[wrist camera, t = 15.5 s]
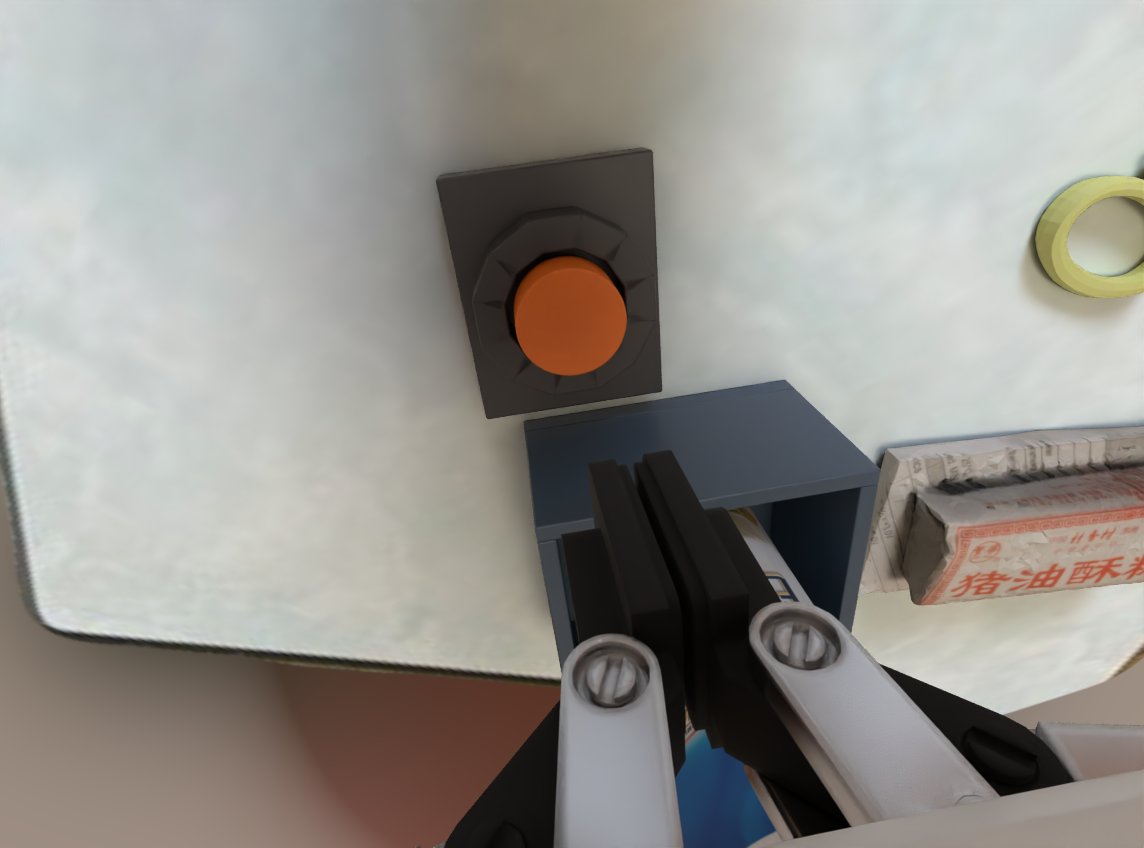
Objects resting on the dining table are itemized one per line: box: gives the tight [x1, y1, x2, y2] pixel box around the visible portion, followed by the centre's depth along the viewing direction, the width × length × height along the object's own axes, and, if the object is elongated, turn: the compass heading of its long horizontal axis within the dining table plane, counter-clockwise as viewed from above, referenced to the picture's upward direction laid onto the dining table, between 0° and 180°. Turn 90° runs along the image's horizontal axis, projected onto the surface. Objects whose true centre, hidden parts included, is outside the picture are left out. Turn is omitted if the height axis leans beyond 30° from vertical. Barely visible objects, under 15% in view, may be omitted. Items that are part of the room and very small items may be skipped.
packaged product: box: [858, 426, 1144, 605], centre depth 32 cm, size 18×5×10 cm
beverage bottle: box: [675, 506, 814, 848], centre depth 22 cm, size 8×8×20 cm
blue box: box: [524, 380, 880, 672], centre depth 28 cm, size 13×13×8 cm
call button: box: [514, 256, 627, 376], centre depth 21 cm, size 4×4×2 cm
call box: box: [436, 148, 662, 419], centre depth 23 cm, size 10×8×3 cm
